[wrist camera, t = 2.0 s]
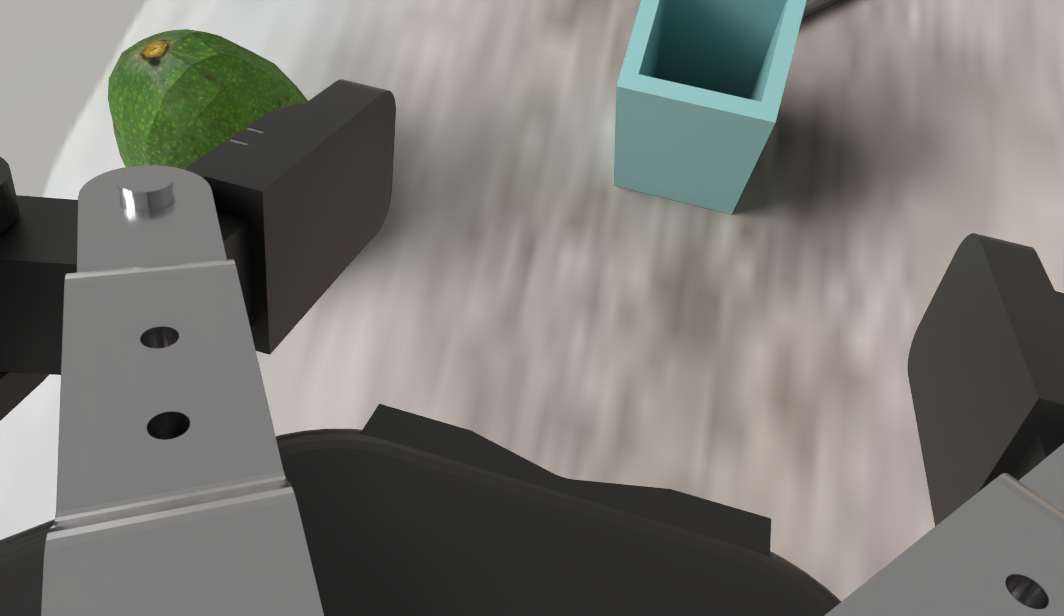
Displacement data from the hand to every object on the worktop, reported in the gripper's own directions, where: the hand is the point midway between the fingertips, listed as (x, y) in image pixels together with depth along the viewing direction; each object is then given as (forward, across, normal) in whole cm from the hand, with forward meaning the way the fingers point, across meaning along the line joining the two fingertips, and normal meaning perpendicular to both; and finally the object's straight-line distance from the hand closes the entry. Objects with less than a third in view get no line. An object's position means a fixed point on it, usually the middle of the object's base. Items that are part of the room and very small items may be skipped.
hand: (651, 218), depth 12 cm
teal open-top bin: (+26, 0, +10) cm, 28 cm away
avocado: (+22, +18, +15) cm, 32 cm away
